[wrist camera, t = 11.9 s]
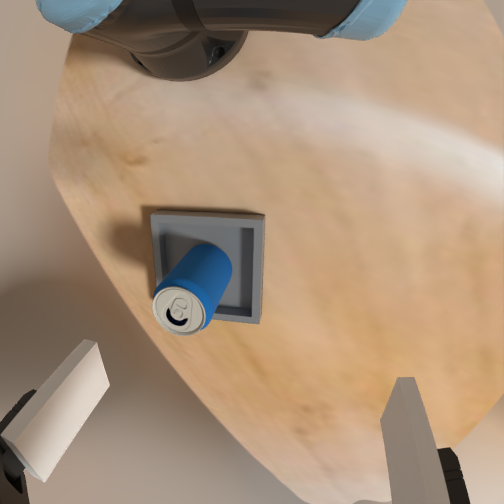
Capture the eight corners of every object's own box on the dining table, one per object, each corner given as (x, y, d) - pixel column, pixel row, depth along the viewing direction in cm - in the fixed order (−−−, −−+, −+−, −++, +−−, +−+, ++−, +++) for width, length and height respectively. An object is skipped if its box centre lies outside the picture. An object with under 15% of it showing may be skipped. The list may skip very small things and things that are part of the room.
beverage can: (179, 273, 43) (141, 320, 32) (196, 233, 41) (158, 271, 30) (221, 295, 44) (195, 349, 33) (241, 256, 41) (219, 303, 30)
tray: (158, 209, 41) (150, 214, 39) (265, 214, 39) (263, 220, 37) (166, 303, 46) (159, 312, 44) (261, 314, 44) (259, 324, 42)
